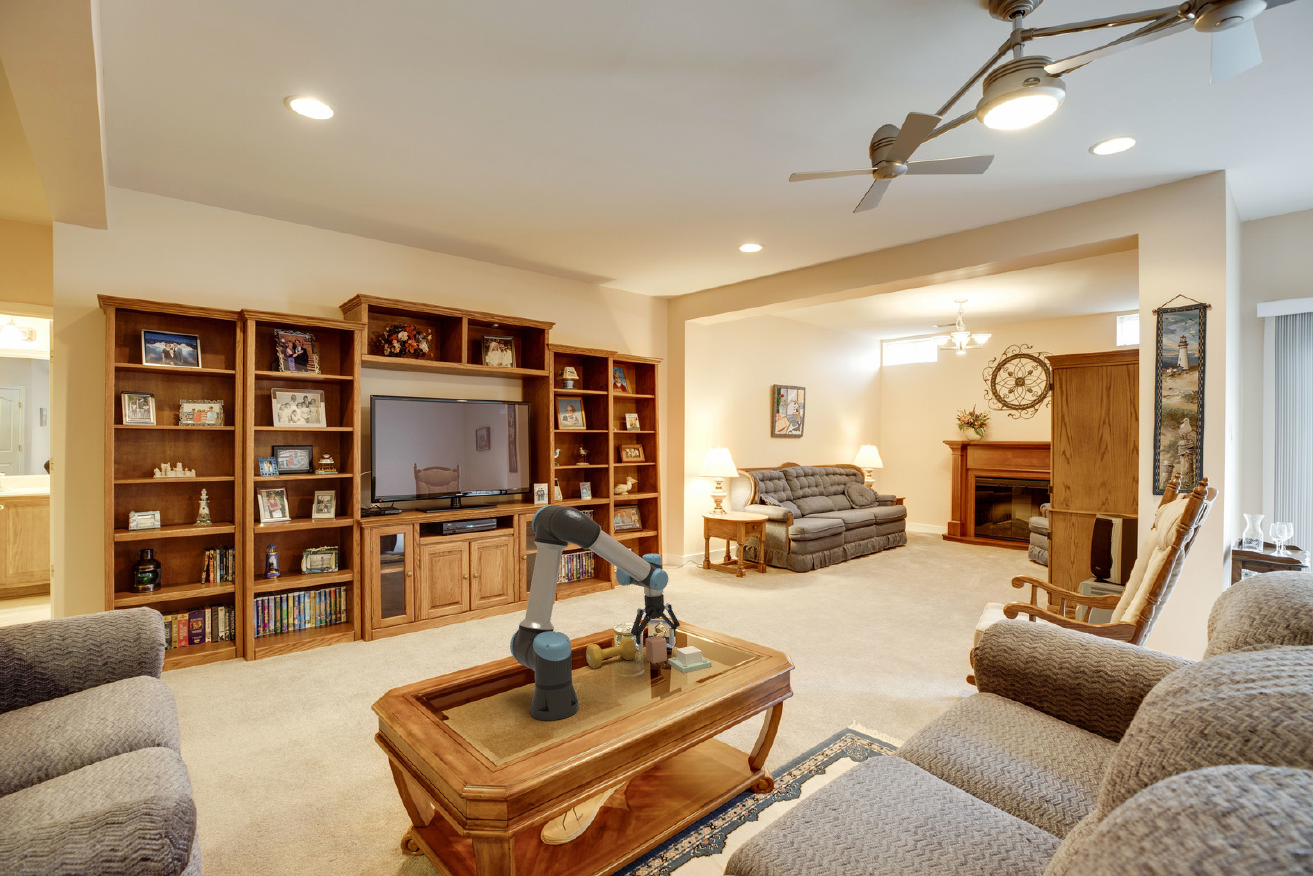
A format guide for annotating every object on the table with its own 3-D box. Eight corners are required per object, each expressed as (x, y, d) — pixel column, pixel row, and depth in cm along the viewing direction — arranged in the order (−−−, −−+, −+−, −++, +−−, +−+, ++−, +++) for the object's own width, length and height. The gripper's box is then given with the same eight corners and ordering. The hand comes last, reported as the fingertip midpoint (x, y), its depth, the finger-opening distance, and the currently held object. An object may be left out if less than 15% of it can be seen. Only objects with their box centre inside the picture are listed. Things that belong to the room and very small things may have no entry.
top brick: (653, 663, 231) (652, 642, 231) (646, 659, 236) (645, 638, 236) (666, 660, 234) (666, 639, 234) (660, 656, 239) (659, 635, 239)
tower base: (683, 673, 220) (682, 657, 220) (668, 663, 230) (667, 648, 231) (711, 666, 225) (710, 651, 225) (695, 657, 236) (694, 642, 236)
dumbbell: (628, 654, 243) (627, 634, 243) (638, 661, 235) (637, 640, 235) (584, 664, 234) (583, 643, 234) (593, 671, 226) (592, 649, 226)
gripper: (628, 601, 227) (631, 658, 226) (686, 591, 238) (689, 645, 237) (620, 597, 233) (623, 652, 233) (677, 587, 244) (680, 640, 244)
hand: (656, 648), depth 235 cm, fingers open, 13 cm apart
